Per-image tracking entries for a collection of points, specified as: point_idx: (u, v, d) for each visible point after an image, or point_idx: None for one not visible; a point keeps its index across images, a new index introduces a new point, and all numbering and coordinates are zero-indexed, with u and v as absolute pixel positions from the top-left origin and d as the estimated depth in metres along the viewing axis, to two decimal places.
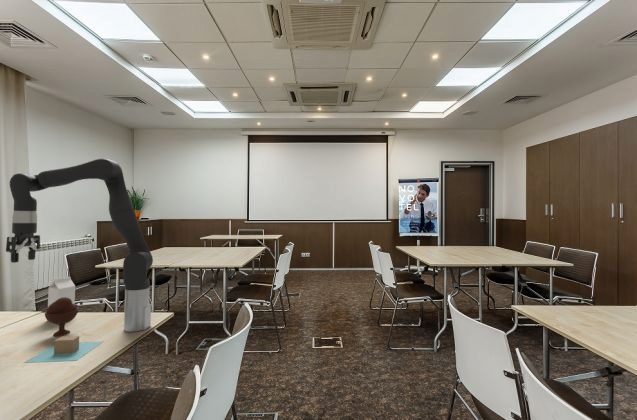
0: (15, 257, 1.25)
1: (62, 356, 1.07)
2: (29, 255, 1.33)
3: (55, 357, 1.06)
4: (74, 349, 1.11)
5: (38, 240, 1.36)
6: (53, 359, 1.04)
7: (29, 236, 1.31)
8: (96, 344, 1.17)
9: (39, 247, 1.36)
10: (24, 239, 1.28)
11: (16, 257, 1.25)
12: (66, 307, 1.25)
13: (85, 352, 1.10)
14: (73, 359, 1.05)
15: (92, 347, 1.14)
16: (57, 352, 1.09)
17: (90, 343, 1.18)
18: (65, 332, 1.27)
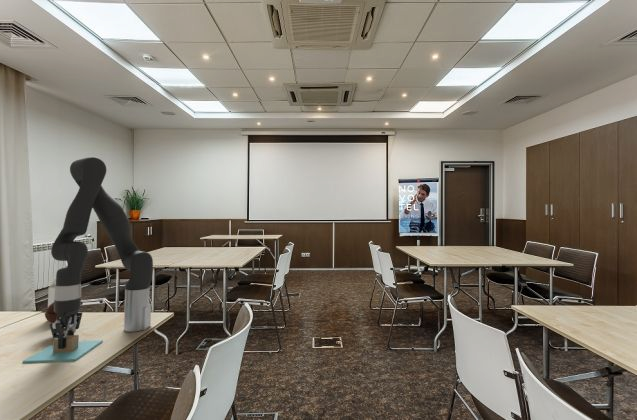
0: (63, 343, 1.08)
1: (61, 355, 1.06)
2: None
3: (54, 356, 1.06)
4: (73, 348, 1.10)
5: (79, 318, 1.16)
6: (52, 358, 1.04)
7: (72, 313, 1.12)
8: (95, 343, 1.17)
9: (78, 327, 1.15)
10: (68, 319, 1.09)
11: (64, 342, 1.09)
12: None
13: (84, 351, 1.10)
14: (72, 358, 1.04)
15: (91, 346, 1.14)
16: (56, 351, 1.09)
17: (89, 342, 1.18)
18: None
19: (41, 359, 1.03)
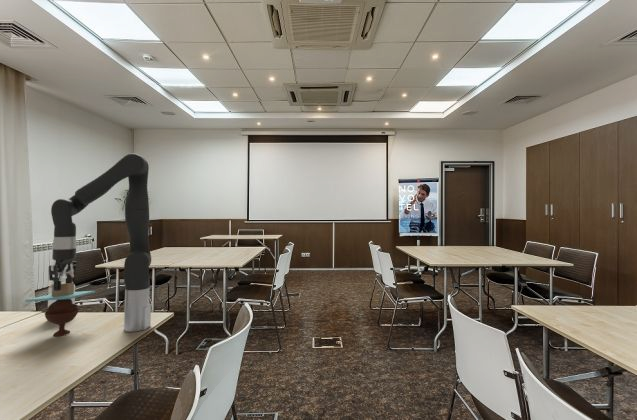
0: (58, 285, 1.24)
1: (59, 296, 1.24)
2: (66, 282, 1.31)
3: (53, 296, 1.23)
4: (69, 292, 1.28)
5: (76, 266, 1.34)
6: (51, 297, 1.21)
7: (68, 262, 1.29)
8: (89, 291, 1.34)
9: (76, 273, 1.34)
10: (64, 266, 1.26)
11: (59, 285, 1.24)
12: (66, 307, 1.25)
13: (79, 294, 1.27)
14: (68, 296, 1.21)
15: (85, 292, 1.31)
16: (54, 295, 1.26)
17: (83, 291, 1.35)
18: (65, 332, 1.27)
19: (41, 298, 1.20)
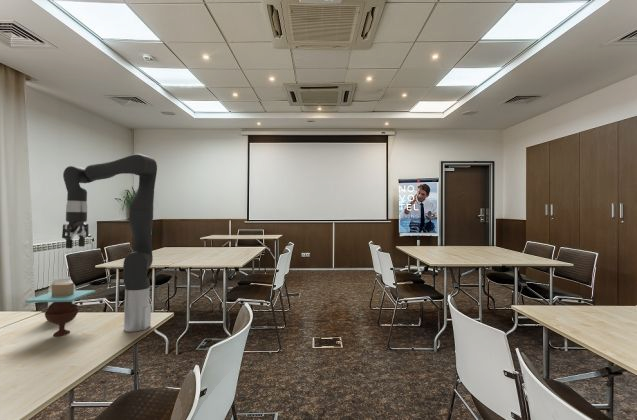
0: (70, 243, 1.35)
1: (59, 297, 1.23)
2: (79, 242, 1.44)
3: (53, 298, 1.23)
4: (69, 293, 1.27)
5: (87, 228, 1.46)
6: (51, 299, 1.21)
7: (80, 224, 1.41)
8: (89, 291, 1.34)
9: None
10: (77, 227, 1.38)
11: (70, 243, 1.35)
12: (66, 307, 1.25)
13: (79, 295, 1.27)
14: (68, 299, 1.21)
15: (85, 293, 1.31)
16: (54, 295, 1.26)
17: (83, 291, 1.35)
18: (65, 332, 1.27)
19: (41, 299, 1.20)
